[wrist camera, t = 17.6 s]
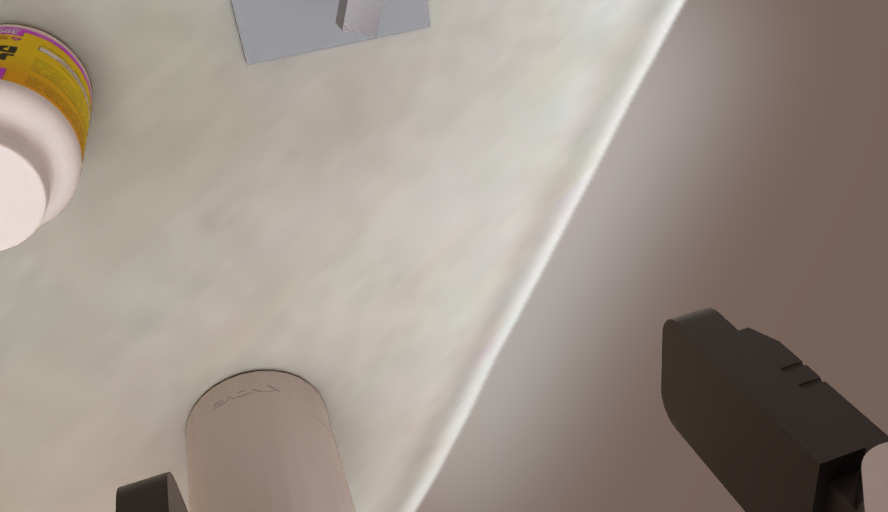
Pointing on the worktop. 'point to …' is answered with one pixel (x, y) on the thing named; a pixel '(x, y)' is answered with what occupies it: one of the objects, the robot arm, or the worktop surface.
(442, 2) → the worktop surface
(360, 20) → the chuck key
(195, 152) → the worktop surface
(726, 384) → the robot arm
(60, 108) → the supplement bottle
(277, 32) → the mat
